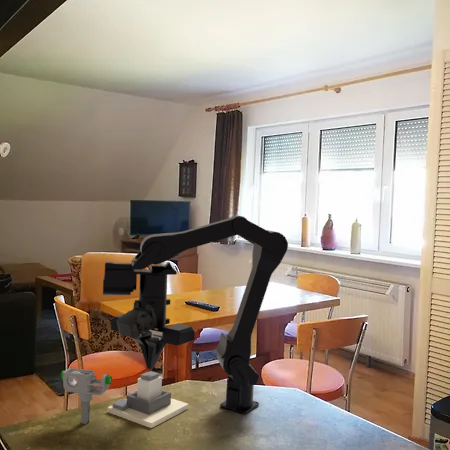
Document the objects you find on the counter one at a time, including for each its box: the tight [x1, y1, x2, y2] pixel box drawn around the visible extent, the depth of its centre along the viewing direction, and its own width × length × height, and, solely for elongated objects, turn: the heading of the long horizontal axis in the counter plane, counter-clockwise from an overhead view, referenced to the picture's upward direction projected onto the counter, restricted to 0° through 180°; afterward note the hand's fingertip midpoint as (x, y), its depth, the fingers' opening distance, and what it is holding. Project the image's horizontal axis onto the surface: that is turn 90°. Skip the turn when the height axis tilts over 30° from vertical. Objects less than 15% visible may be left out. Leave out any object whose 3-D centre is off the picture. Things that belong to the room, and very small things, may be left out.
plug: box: [136, 370, 163, 401], centre depth 107 cm, size 4×3×7 cm
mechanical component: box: [60, 367, 113, 425], centre depth 100 cm, size 3×10×10 cm, turn 78°
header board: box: [107, 389, 190, 429], centre depth 107 cm, size 12×12×4 cm
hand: (150, 368), depth 106 cm, fingers closed
